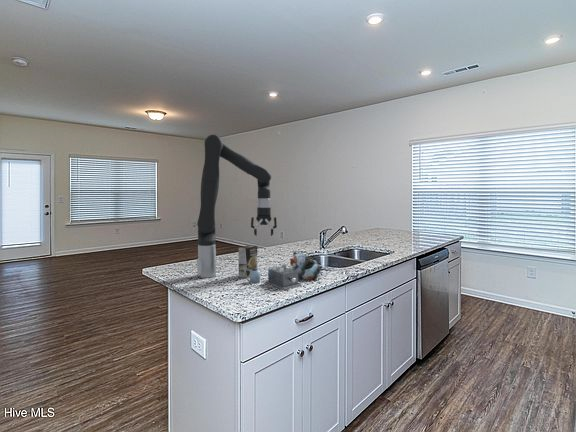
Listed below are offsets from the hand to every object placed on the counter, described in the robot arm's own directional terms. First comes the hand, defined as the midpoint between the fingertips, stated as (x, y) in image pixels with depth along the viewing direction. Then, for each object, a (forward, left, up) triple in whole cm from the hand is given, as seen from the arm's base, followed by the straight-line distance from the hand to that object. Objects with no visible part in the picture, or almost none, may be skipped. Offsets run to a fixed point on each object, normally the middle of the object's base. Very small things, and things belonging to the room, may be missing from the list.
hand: (263, 235), depth 181 cm
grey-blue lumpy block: (+13, -21, -22) cm, 33 cm away
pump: (-13, -11, -21) cm, 27 cm away
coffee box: (-10, +1, -21) cm, 24 cm away
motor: (-4, -23, -21) cm, 32 cm away
